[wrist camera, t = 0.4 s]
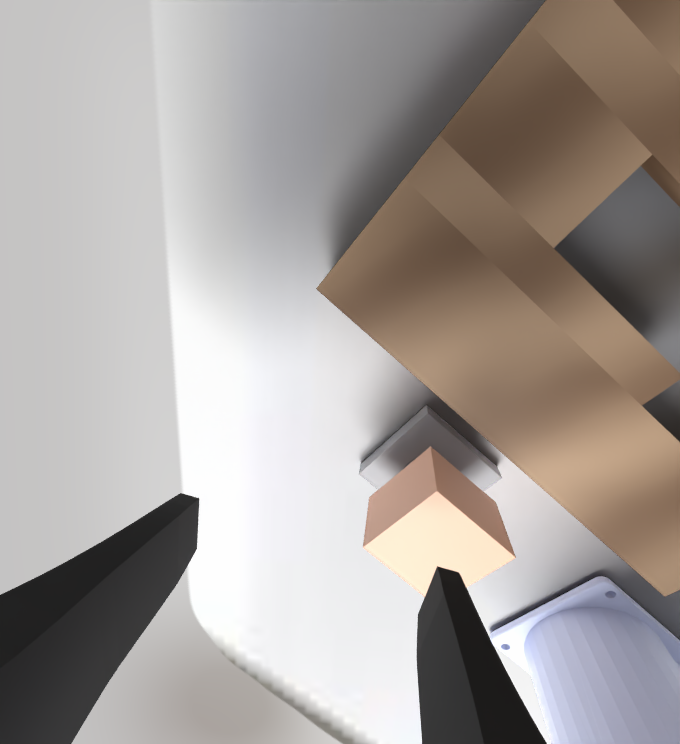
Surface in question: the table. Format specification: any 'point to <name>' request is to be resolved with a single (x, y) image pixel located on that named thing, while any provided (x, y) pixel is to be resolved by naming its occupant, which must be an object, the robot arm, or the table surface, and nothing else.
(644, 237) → the keyhole plate
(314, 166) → the table surface
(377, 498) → the peach colored cube
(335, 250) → the table surface
